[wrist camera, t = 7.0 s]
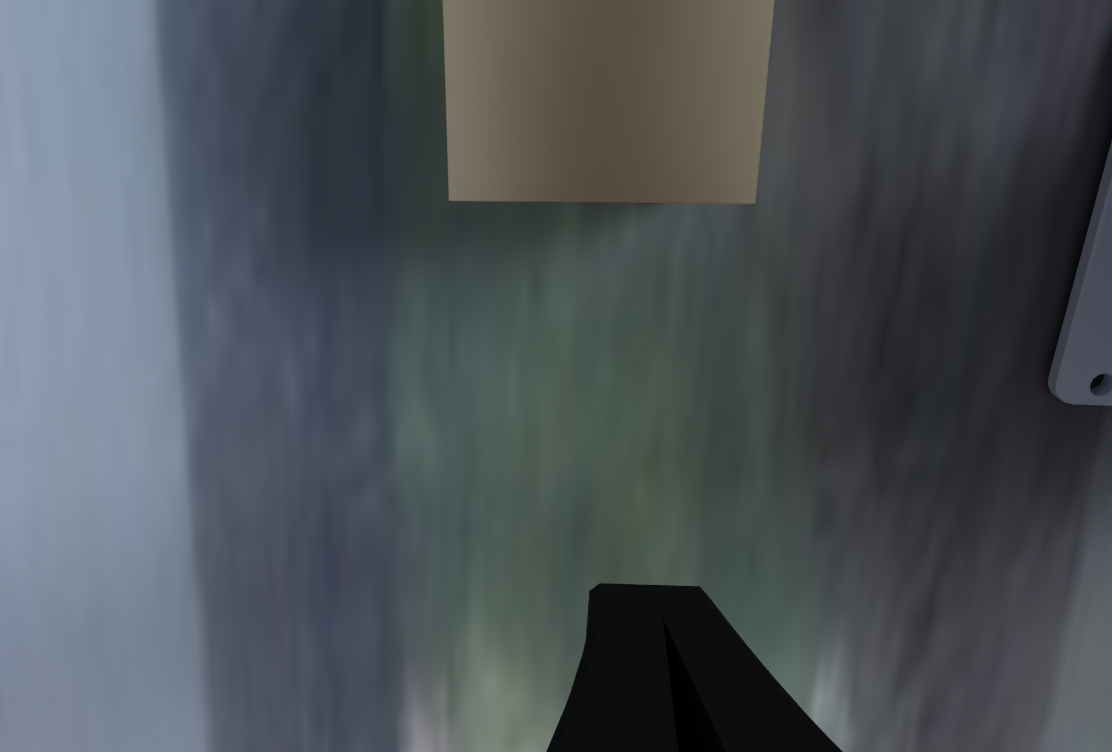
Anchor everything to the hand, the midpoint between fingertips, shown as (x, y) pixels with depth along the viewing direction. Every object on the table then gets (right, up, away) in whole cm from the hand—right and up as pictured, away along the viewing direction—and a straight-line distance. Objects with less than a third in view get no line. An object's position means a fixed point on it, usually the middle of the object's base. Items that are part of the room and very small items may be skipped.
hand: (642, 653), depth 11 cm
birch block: (0, +10, +6) cm, 12 cm away
